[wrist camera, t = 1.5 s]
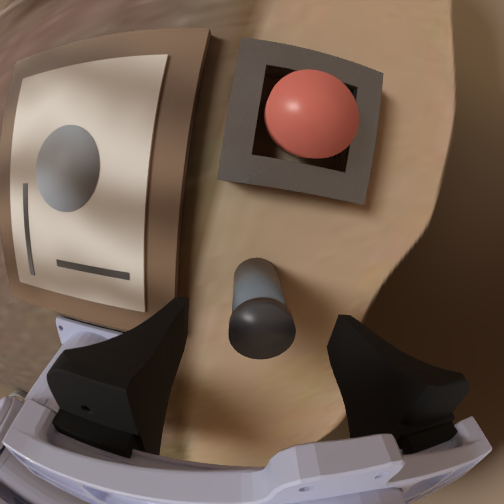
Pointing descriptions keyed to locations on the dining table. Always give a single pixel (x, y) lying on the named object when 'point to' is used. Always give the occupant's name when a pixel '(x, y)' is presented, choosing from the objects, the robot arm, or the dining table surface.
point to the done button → (311, 114)
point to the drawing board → (99, 172)
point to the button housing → (288, 172)
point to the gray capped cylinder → (259, 312)
